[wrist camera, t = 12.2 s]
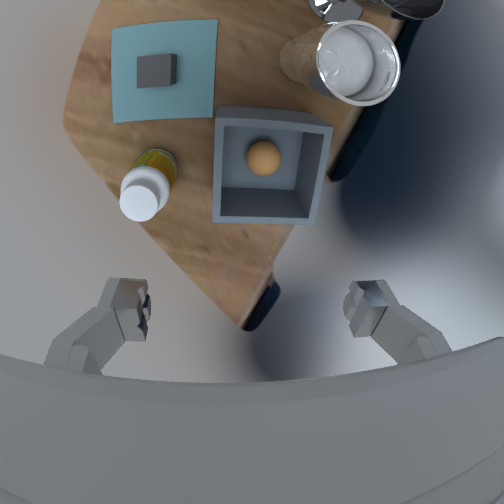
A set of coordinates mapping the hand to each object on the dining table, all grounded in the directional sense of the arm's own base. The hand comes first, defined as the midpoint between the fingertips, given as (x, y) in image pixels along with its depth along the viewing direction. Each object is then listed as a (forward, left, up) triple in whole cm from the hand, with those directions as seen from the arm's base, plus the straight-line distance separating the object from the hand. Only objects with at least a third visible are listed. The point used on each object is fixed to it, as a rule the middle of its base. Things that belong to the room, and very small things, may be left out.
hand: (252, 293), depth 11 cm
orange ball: (+2, +4, -24) cm, 24 cm away
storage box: (+2, +4, -26) cm, 27 cm away
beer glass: (-10, +8, -27) cm, 29 cm away
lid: (-8, -8, -27) cm, 29 cm away
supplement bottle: (+5, -9, -27) cm, 28 cm away
